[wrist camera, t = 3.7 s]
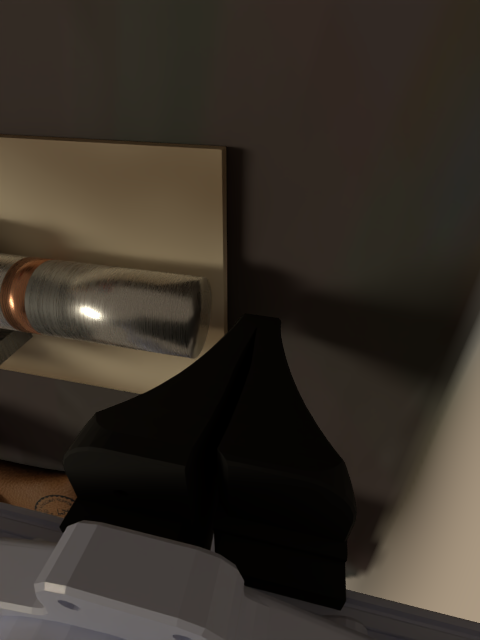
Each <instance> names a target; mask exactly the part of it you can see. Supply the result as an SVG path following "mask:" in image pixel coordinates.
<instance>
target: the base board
mask: <svg viewBox="0 0 480 640" xmlns="http://www.w3.org/2000/svg"><path fill="white" fill-rule="evenodd" d="M0 253H4V254H13V255H21V256H30V257H39V258H47V259H56V260H64V261H73V262H81V263H90V264H98V265H107V266H115V267H124V268H132V269H141V270H149V271H158V272H166V273H175V274H183V275H192V276H200V277H206V278H207V279H208V281H209V283H210V287H211V296H212V306H211V318H210V324H209V330H208V334H207V338H206V341H205V344H204V347H203V349H202V351H201V353H200V354H199V356H198V357H197V358H195V359H192V358H186V357H180V356H173V355H167V354H161V353H154V352H148V351H142V350H135V349H129V348H123V347H116V346H110V345H104V344H97V343H91V342H85V341H78V340H72V339H66V338H59V337H53V336H47V335H40V334H34V333H32V335H33V337H32V338H31V339H30V340H29V341H27V342H26V343H25V344H24V345H23V346H22V347H21V348H19V349H18V350H17V351H16V352H15V353H14V354H13V355H11V356H10V357H9V358H8V359H7V360H6V361H5V362H3V363H2V364H1V365H0V369H5V370H10V371H16V372H22V373H27V374H33V375H38V376H44V377H49V378H55V379H61V380H66V381H72V382H77V383H83V384H88V385H94V386H100V387H105V388H111V389H116V390H122V391H127V392H133V393H139V394H143V393H145V392H147V391H149V390H151V389H153V388H155V387H157V386H159V385H160V384H162V383H164V382H165V381H167V380H169V379H170V378H172V377H174V376H175V375H177V374H178V373H180V372H181V371H183V370H184V369H186V368H187V367H188V366H190V365H191V364H193V363H194V362H195V361H196V360H198V359H199V358H200V357H201V356H202V355H204V354H205V353H206V352H207V351H208V350H209V349H211V348H212V347H213V346H214V345H215V344H216V343H217V342H218V341H219V340H220V339H221V338H222V337H223V336H224V335H225V334H226V333H227V332H228V329H227V182H226V146H209V145H190V144H171V143H153V142H134V141H115V140H97V139H78V138H60V137H41V136H22V135H4V134H0Z"/></svg>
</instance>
